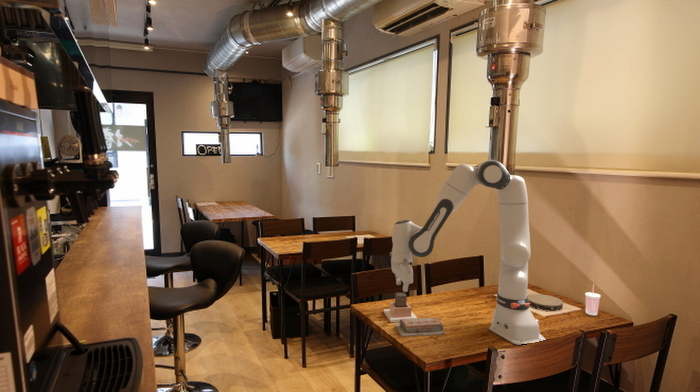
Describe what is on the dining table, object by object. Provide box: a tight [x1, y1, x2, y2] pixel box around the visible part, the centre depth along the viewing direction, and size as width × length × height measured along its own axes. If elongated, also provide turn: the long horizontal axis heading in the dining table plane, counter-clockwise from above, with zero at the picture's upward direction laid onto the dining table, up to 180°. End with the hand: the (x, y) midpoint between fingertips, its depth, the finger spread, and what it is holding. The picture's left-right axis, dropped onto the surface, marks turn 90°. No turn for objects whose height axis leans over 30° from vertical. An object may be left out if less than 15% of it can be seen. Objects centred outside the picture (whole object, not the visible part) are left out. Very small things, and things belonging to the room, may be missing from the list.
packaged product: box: [395, 317, 446, 337], centre depth 168 cm, size 18×5×10 cm
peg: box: [394, 291, 408, 308], centre depth 181 cm, size 4×4×9 cm
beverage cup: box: [584, 283, 602, 316], centre depth 188 cm, size 6×6×14 cm
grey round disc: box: [527, 293, 564, 312], centre depth 199 cm, size 16×16×3 cm
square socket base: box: [383, 301, 418, 323], centre depth 182 cm, size 12×12×5 cm
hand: (401, 287), depth 181 cm, fingers open, 8 cm apart
